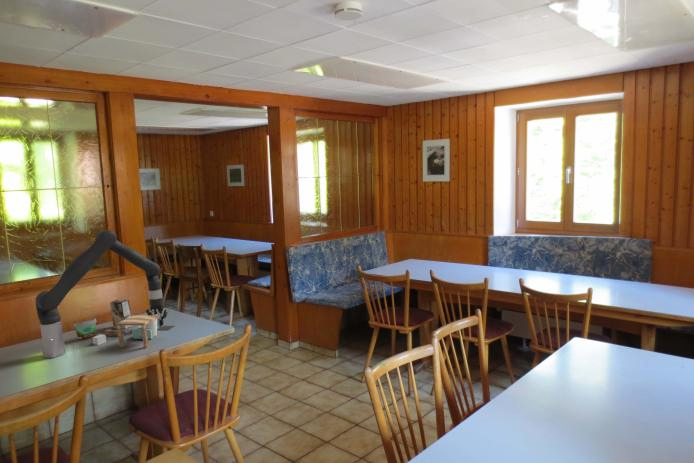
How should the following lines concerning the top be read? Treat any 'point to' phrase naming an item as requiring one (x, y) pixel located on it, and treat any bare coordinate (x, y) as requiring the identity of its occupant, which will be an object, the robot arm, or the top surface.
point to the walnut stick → (112, 332)
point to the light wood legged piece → (136, 320)
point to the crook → (138, 331)
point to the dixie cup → (152, 327)
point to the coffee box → (120, 312)
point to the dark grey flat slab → (165, 328)
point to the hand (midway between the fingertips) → (158, 325)
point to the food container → (86, 329)
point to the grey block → (99, 339)
